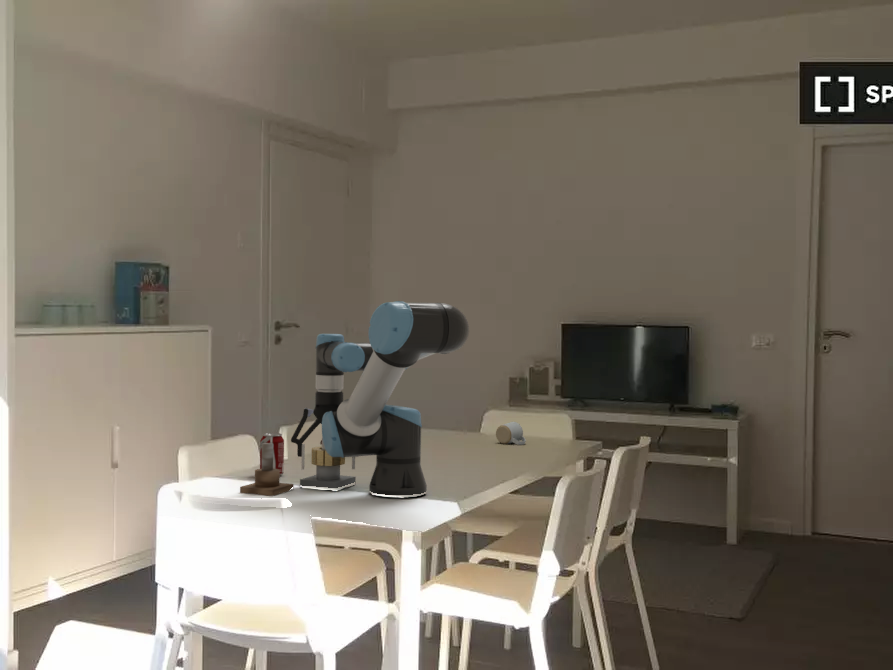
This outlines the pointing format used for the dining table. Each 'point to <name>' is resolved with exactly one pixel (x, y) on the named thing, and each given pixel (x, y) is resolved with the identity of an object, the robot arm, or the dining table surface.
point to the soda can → (274, 450)
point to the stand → (266, 476)
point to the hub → (327, 477)
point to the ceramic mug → (510, 433)
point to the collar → (325, 458)
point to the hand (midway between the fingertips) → (328, 468)
